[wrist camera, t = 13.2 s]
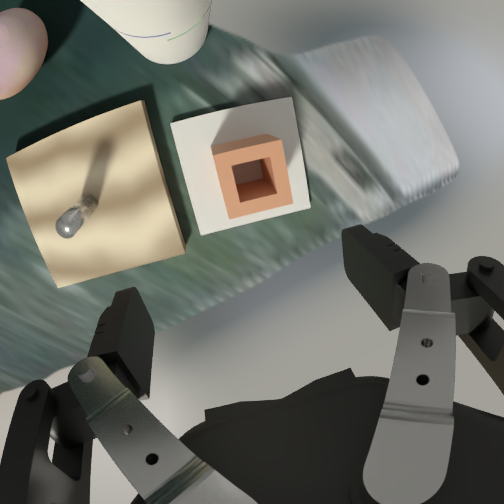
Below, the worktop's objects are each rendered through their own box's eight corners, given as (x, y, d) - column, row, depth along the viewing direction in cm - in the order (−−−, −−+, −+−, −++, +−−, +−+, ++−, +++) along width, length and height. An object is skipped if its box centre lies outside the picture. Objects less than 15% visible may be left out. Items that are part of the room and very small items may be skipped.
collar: (210, 146, 30) (213, 155, 24) (266, 133, 30) (281, 139, 25) (223, 199, 32) (229, 219, 27) (277, 186, 33) (293, 203, 27)
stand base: (14, 154, 26) (6, 158, 25) (144, 100, 27) (140, 100, 26) (63, 279, 34) (58, 288, 32) (185, 245, 35) (185, 253, 33)
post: (77, 197, 28) (52, 219, 22) (93, 191, 28) (71, 212, 23) (83, 215, 29) (60, 241, 23) (100, 209, 29) (79, 234, 23)
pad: (171, 123, 29) (170, 123, 28) (289, 97, 29) (291, 96, 29) (201, 232, 34) (201, 235, 34) (308, 205, 35) (310, 208, 34)
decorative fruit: (73, 71, 24) (27, 62, 15) (13, 109, 24) (-42, 118, 15) (54, 3, 20) (10, -23, 11) (-4, 42, 20) (-57, 34, 11)
